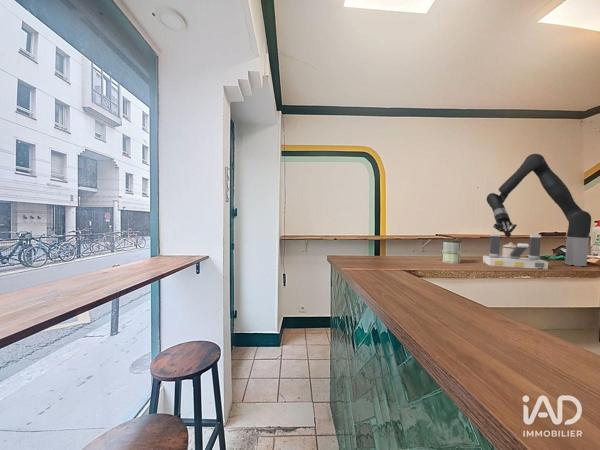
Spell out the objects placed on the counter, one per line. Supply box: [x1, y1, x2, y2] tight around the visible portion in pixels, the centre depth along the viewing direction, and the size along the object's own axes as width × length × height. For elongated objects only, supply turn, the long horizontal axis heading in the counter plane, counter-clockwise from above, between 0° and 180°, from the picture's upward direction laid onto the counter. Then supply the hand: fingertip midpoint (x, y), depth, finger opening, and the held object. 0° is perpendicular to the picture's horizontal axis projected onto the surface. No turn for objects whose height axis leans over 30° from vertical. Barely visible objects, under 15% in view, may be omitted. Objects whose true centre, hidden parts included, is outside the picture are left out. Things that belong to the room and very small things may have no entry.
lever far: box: [488, 232, 502, 258], centre depth 164 cm, size 5×2×15 cm, turn 73°
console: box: [482, 255, 549, 270], centre depth 161 cm, size 28×12×4 cm, turn 73°
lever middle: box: [508, 242, 530, 259], centre depth 156 cm, size 5×2×15 cm
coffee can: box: [441, 238, 462, 264], centre depth 170 cm, size 10×10×14 cm
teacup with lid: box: [501, 241, 517, 257], centre depth 181 cm, size 12×9×12 cm
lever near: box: [527, 233, 542, 260], centre depth 158 cm, size 5×2×15 cm, turn 73°
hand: (508, 236), depth 168 cm, fingers closed
